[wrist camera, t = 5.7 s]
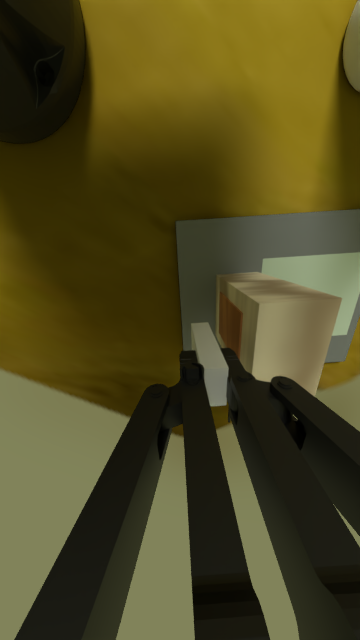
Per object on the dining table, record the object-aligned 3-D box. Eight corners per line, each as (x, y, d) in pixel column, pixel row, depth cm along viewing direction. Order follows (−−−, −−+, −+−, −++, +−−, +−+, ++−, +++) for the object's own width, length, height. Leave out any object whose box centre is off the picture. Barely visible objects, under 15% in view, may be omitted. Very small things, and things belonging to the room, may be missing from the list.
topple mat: (184, 369, 28) (184, 372, 27) (175, 222, 21) (175, 221, 20) (340, 358, 28) (344, 361, 27) (387, 208, 21) (395, 206, 20)
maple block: (214, 334, 25) (246, 404, 14) (215, 274, 22) (256, 304, 11) (251, 331, 25) (313, 399, 14) (257, 272, 22) (342, 298, 11)
